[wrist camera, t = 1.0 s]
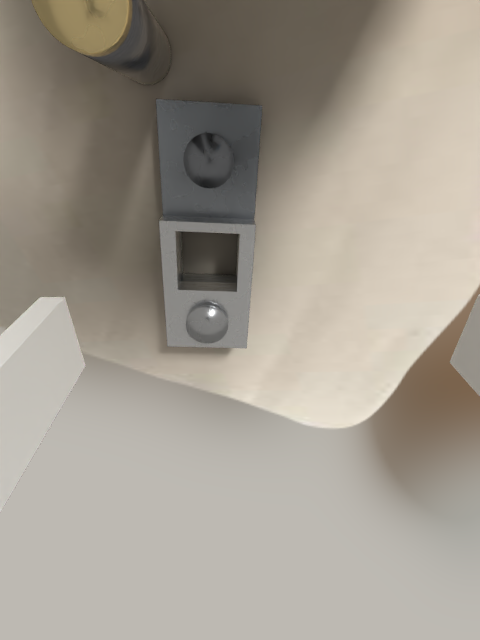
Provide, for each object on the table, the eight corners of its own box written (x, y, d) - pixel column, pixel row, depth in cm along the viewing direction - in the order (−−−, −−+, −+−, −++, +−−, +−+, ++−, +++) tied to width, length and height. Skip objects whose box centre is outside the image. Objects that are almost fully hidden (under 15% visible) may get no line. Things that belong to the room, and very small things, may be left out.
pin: (114, 15, 24) (14, -83, 13) (170, 19, 24) (120, -73, 13) (120, 83, 26) (39, 49, 15) (172, 86, 26) (131, 55, 15)
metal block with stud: (160, 100, 27) (148, 95, 23) (260, 107, 27) (266, 103, 23) (173, 325, 37) (166, 351, 33) (244, 328, 38) (246, 352, 33)
